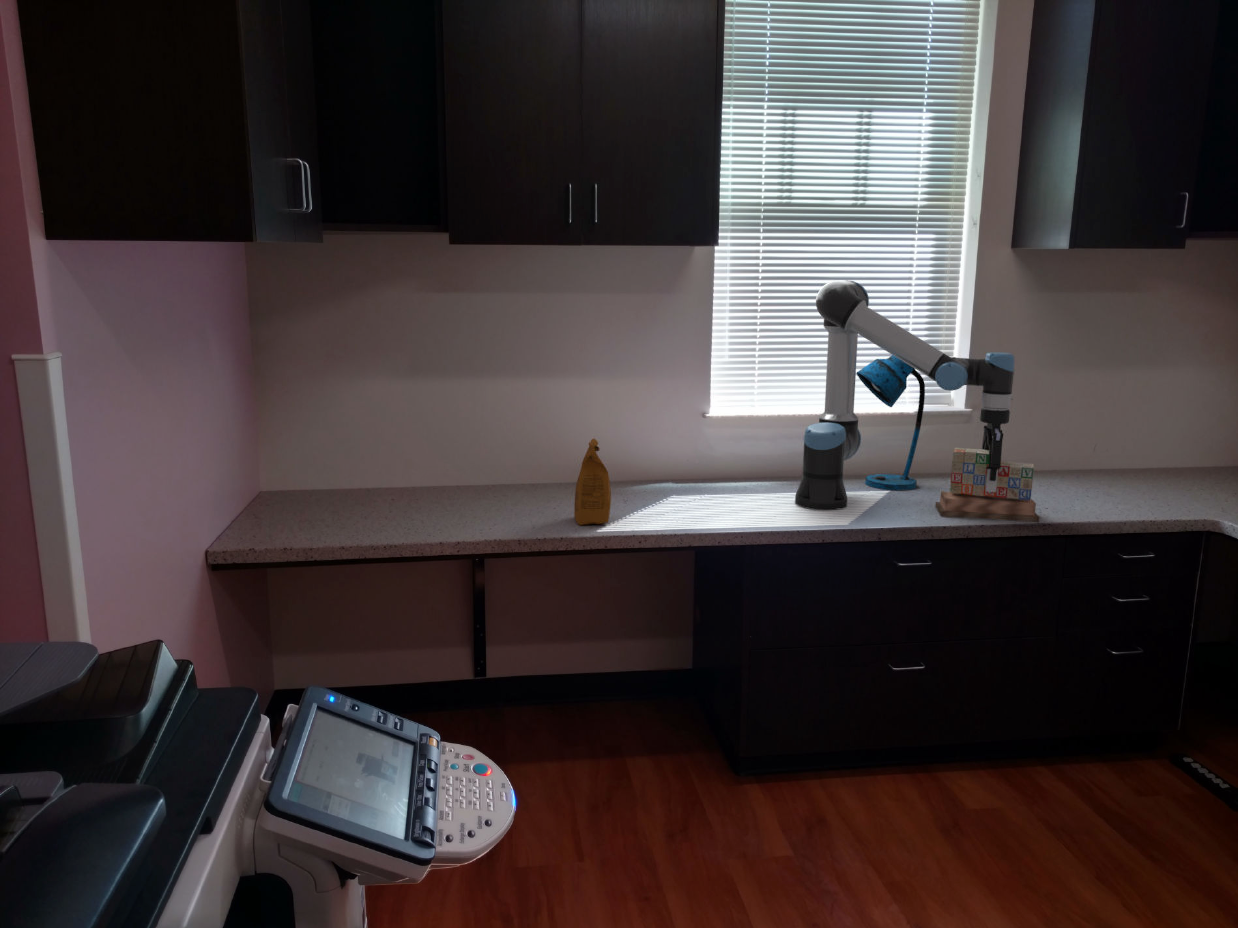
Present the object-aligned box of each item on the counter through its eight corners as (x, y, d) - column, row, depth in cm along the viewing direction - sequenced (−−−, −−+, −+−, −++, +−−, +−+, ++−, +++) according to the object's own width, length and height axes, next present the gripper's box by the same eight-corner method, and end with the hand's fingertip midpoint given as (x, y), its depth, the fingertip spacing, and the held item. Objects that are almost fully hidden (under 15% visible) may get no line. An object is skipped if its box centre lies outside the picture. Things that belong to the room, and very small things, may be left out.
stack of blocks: (1030, 496, 263) (1035, 453, 261) (1030, 501, 258) (1035, 457, 255) (951, 488, 272) (954, 446, 269) (949, 492, 266) (952, 450, 263)
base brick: (941, 516, 263) (942, 499, 262) (935, 506, 274) (936, 490, 273) (1038, 521, 258) (1040, 504, 257) (1029, 511, 269) (1030, 495, 268)
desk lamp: (843, 479, 309) (852, 342, 300) (908, 479, 310) (919, 343, 301) (858, 490, 293) (868, 346, 284) (927, 490, 294) (938, 347, 285)
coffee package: (610, 514, 261) (611, 437, 256) (610, 526, 248) (611, 445, 244) (575, 514, 260) (575, 437, 256) (573, 526, 248) (573, 445, 244)
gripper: (1018, 414, 250) (1009, 497, 254) (1002, 404, 269) (994, 481, 273) (988, 413, 251) (980, 495, 256) (974, 403, 270) (967, 480, 275)
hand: (987, 488), depth 264 cm, fingers closed on stack of blocks, 7 cm apart
